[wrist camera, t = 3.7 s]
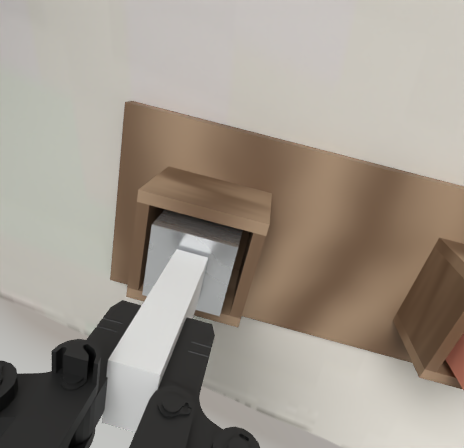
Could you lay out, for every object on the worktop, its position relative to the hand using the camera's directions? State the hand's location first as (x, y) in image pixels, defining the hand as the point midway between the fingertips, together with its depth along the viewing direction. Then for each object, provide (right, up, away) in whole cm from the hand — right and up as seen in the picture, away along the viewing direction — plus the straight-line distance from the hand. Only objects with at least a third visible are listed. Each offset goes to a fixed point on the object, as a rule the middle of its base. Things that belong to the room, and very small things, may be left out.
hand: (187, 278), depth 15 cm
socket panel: (+9, +1, +6) cm, 10 cm away
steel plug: (+1, +2, +5) cm, 5 cm away
